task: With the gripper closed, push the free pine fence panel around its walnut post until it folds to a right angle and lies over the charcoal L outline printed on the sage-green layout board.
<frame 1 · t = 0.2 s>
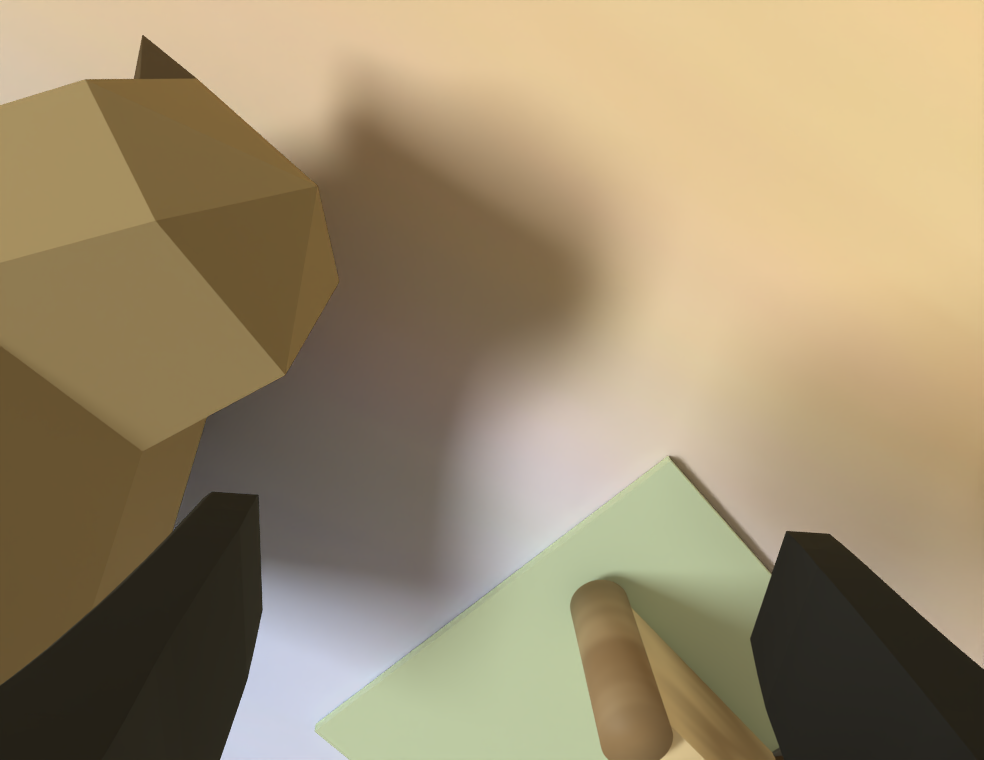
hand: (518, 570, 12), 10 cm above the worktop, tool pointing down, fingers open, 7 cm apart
hinged panel: (696, 744, 23), point 3 cm above the worktop, hinge at 0.0°
low-poly potato: (115, 320, 21), on the worktop
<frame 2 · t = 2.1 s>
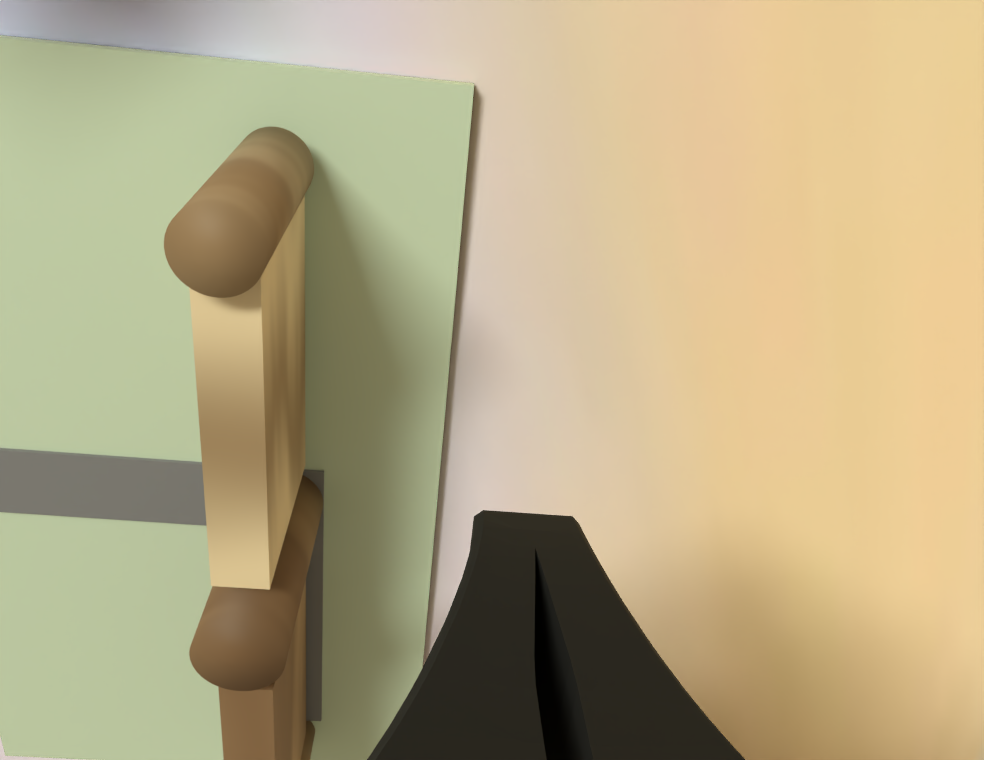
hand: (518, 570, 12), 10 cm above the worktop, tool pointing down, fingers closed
fixed fence: (287, 491, 23), resting on layout board
hinged panel: (255, 364, 18), point 3 cm above the worktop, hinge at 0.0°
layout board: (192, 485, 23), on the worktop
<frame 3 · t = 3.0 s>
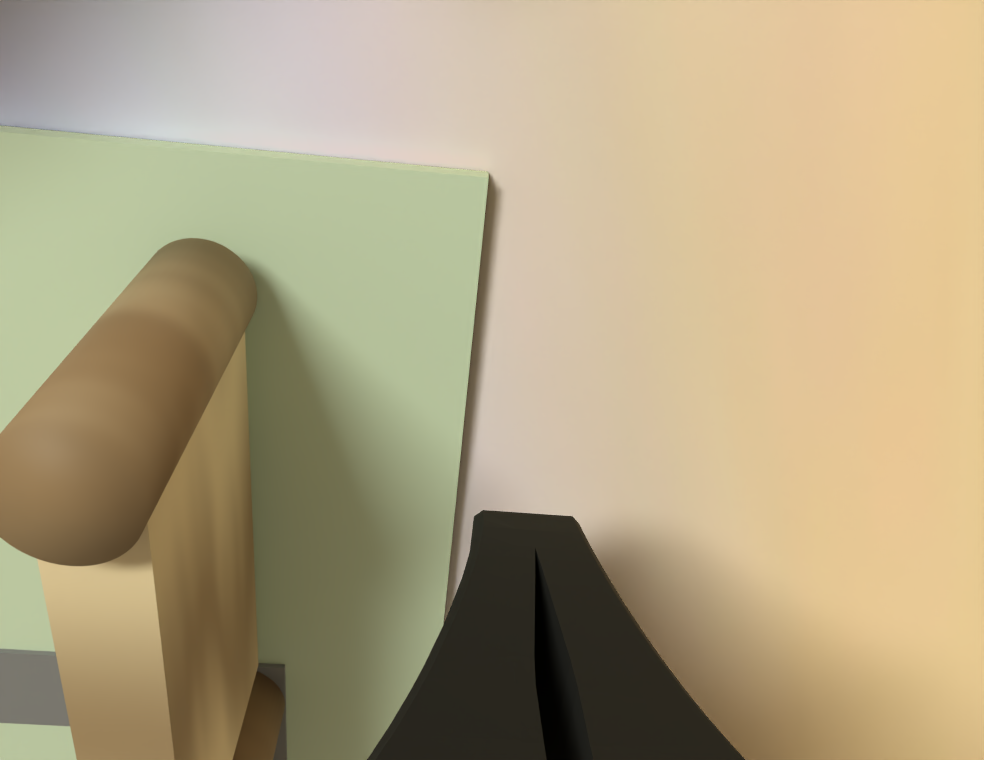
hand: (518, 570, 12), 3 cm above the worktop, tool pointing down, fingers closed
fixed fence: (239, 685, 18), resting on layout board
hinged panel: (167, 587, 12), point 3 cm above the worktop, hinge at 0.0°
layout board: (113, 678, 18), on the worktop
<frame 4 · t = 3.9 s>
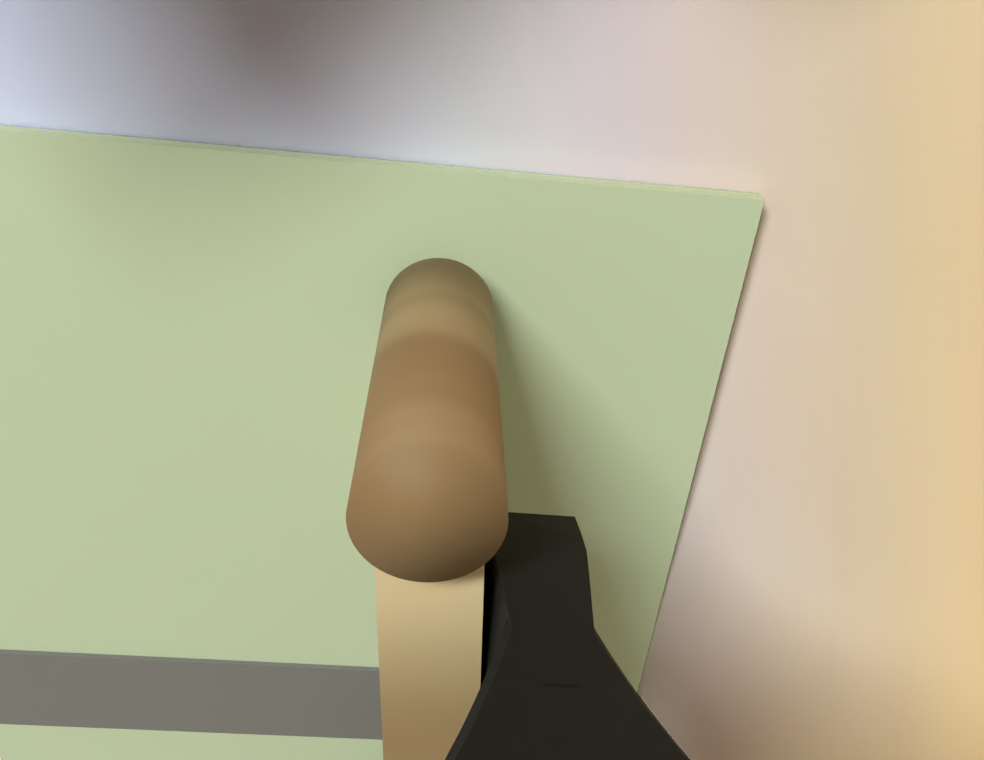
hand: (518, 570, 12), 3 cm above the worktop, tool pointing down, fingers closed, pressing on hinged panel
hinged panel: (434, 599, 12), point 3 cm above the worktop, hinge at 4.1°, touching gripper
layout board: (317, 687, 18), on the worktop
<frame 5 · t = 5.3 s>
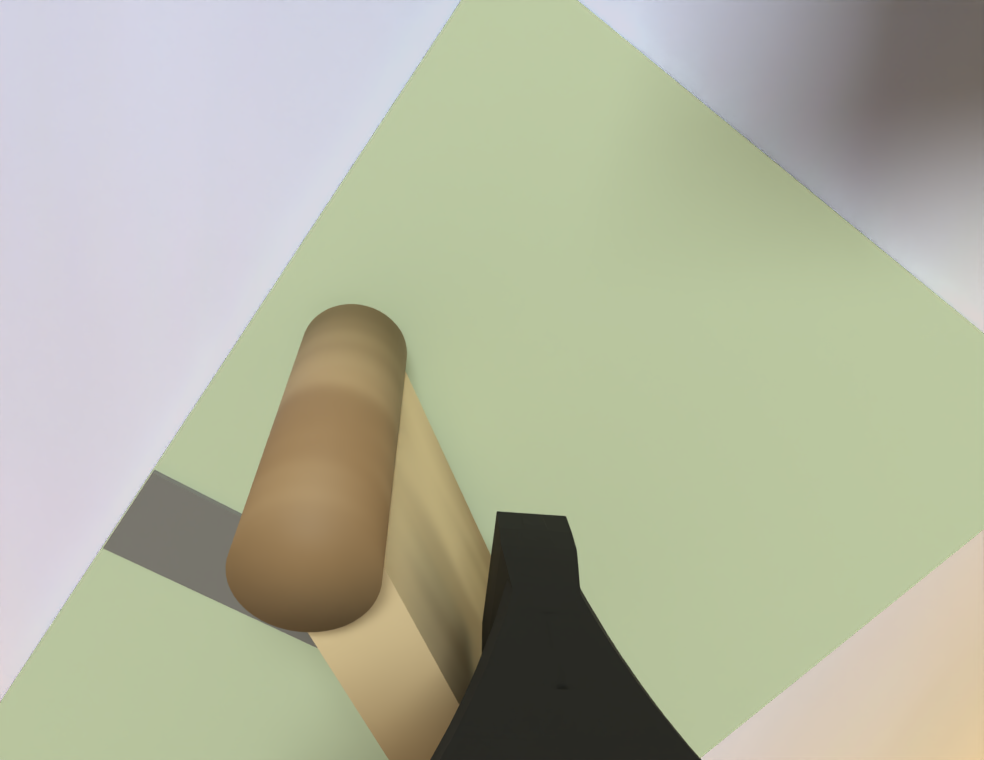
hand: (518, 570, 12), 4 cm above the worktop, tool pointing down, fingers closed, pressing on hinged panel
hinged panel: (431, 623, 13), point 3 cm above the worktop, hinge at 55.7°, touching gripper
layout board: (436, 645, 18), on the worktop
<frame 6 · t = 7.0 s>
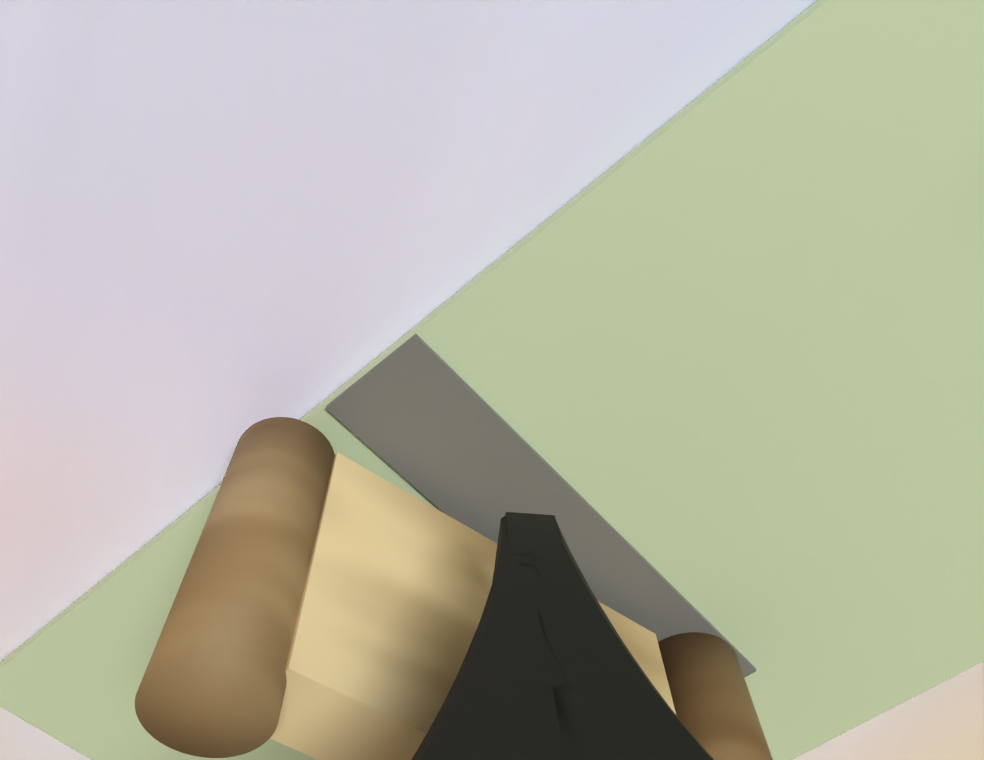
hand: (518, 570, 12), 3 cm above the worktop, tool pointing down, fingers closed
fixed fence: (682, 653, 18), resting on layout board
hinged panel: (453, 663, 13), point 3 cm above the worktop, hinge at 102.4°, touching gripper
layout board: (609, 584, 17), on the worktop
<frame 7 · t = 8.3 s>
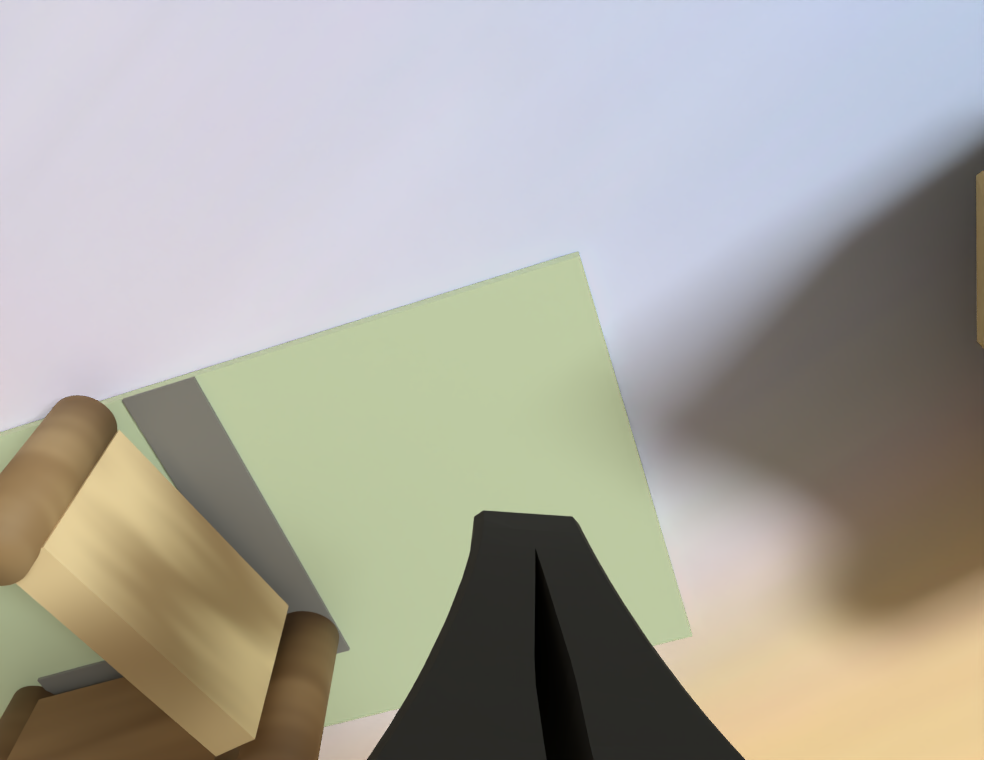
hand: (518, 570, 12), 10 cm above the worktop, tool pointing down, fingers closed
fixed fence: (307, 625, 27), resting on layout board
hinged panel: (144, 579, 21), point 3 cm above the worktop, hinge at 102.4°
layout board: (272, 566, 25), on the worktop
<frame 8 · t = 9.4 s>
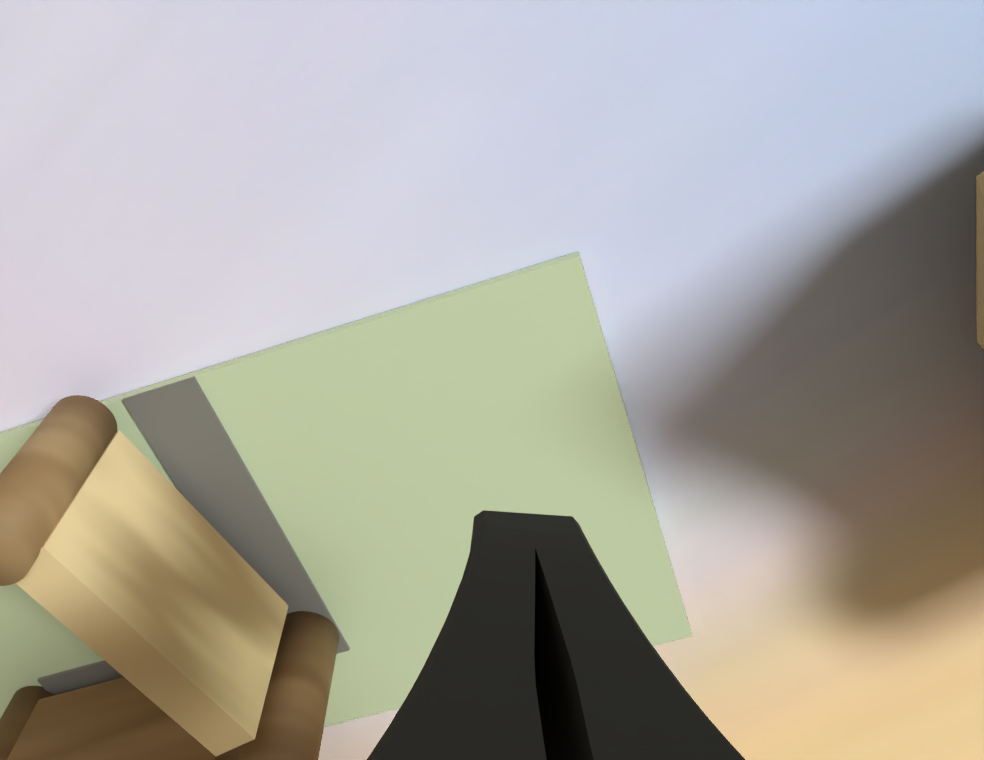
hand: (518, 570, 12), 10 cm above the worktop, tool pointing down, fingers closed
fixed fence: (307, 625, 27), resting on layout board
hinged panel: (144, 579, 21), point 3 cm above the worktop, hinge at 102.4°
layout board: (272, 566, 25), on the worktop
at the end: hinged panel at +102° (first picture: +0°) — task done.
